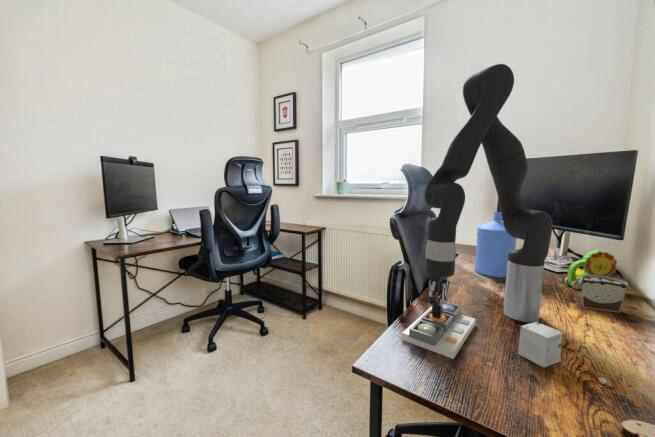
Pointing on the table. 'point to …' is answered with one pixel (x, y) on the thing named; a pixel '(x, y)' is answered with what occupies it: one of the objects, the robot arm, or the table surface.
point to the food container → (603, 292)
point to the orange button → (441, 319)
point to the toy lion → (591, 267)
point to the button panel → (441, 332)
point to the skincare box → (540, 344)
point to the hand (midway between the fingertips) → (436, 316)
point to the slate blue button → (448, 308)
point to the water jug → (493, 248)
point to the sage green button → (427, 329)
